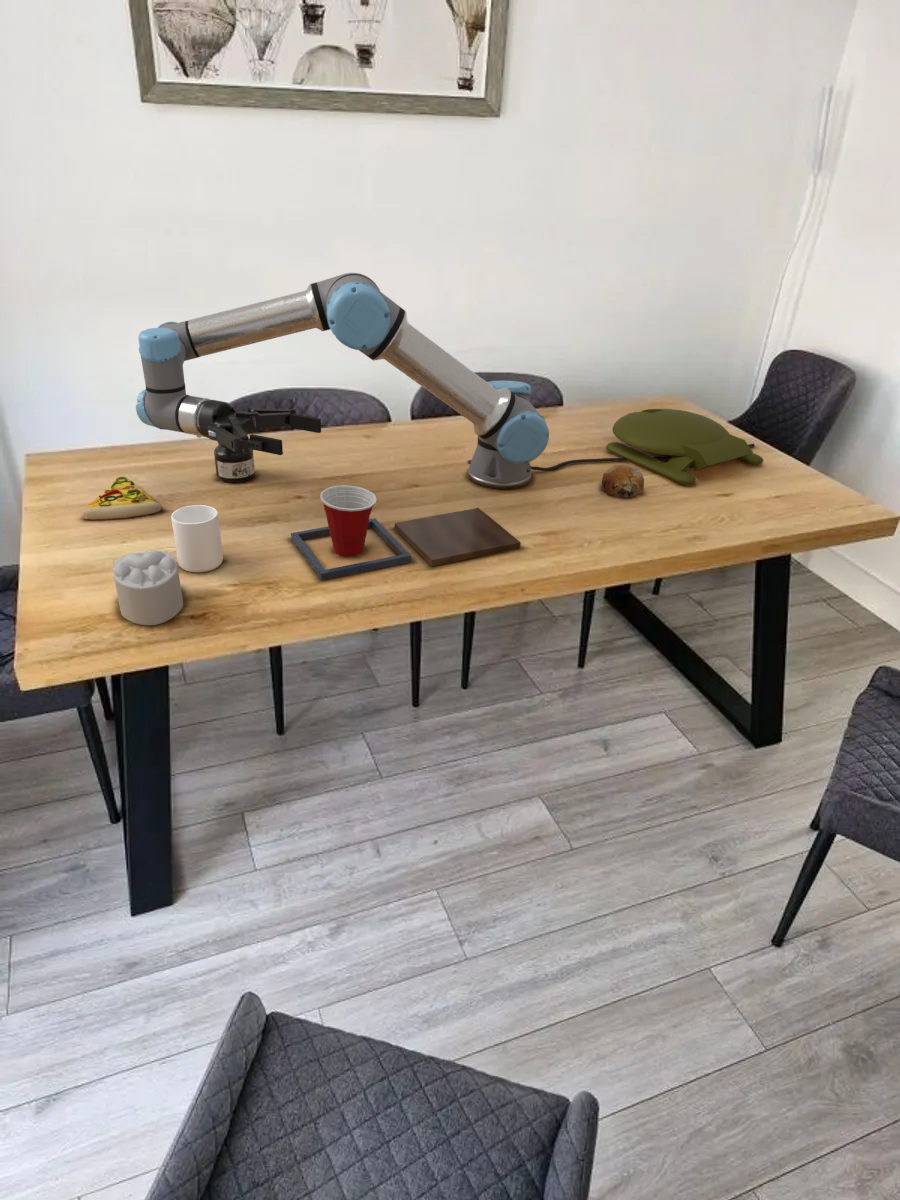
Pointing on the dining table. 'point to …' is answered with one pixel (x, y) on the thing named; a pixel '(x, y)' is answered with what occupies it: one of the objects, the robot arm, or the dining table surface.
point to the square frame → (353, 568)
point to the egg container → (148, 587)
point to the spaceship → (677, 442)
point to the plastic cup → (348, 517)
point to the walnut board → (456, 536)
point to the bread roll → (622, 481)
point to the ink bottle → (233, 464)
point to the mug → (197, 538)
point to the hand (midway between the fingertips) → (301, 436)
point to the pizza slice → (121, 502)
